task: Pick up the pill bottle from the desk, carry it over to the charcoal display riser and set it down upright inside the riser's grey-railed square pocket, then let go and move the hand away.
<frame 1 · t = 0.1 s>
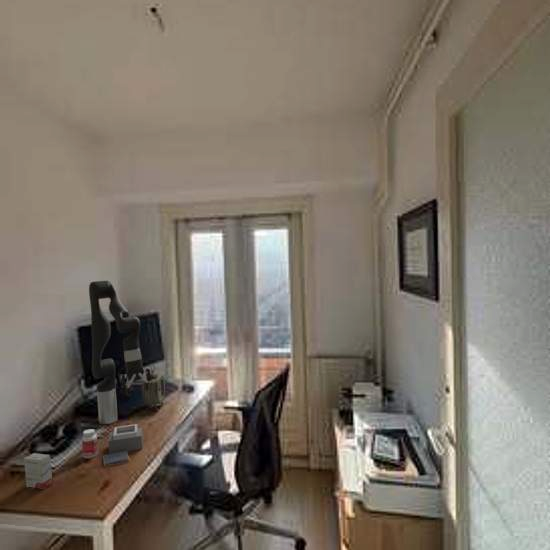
hand: (137, 393, 205), 22 cm above the table, tool pointing down, fingers open, 8 cm apart
ink box: (39, 486, 169), on the table
pill bottle: (90, 456, 193), on the table
display riser: (126, 446, 200), on the table
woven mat: (116, 461, 187), on the table
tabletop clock: (154, 408, 248), on the table
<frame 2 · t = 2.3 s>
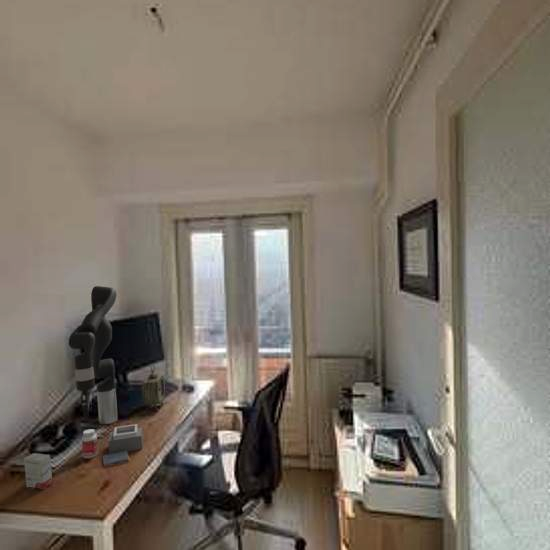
hand: (87, 414, 191), 19 cm above the table, tool pointing down, fingers open, 8 cm apart
nothing on the table moved.
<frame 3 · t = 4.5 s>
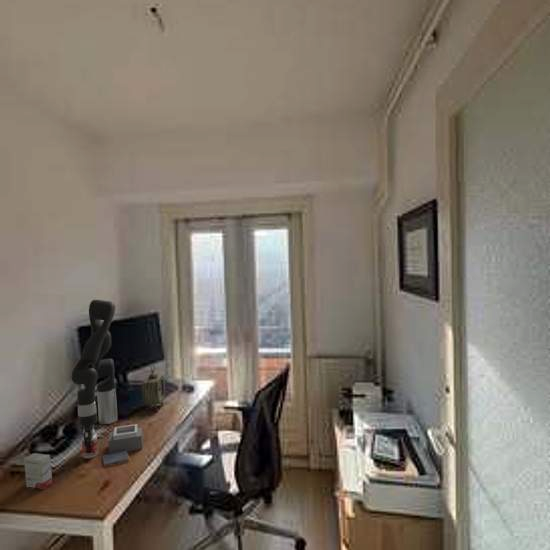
hand: (90, 449, 192), 3 cm above the table, tool pointing down, fingers closed on pill bottle, 6 cm apart
pill bottle: (90, 455, 193), on the table, touching gripper
everything else where it was.
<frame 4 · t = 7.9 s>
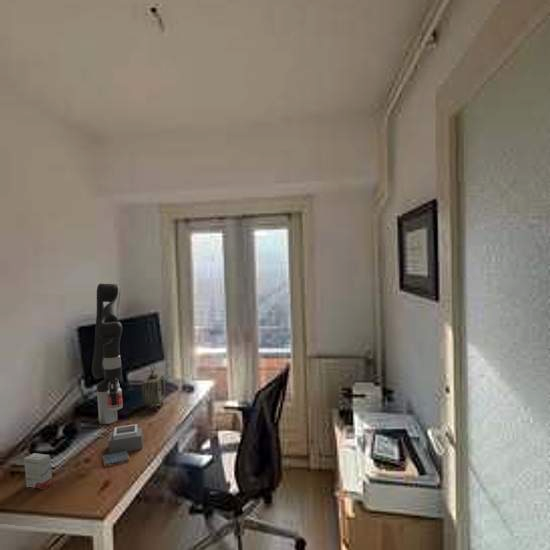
hand: (115, 402, 197), 21 cm above the table, tool pointing down, fingers closed on pill bottle, 6 cm apart
pill bottle: (115, 408, 197), point 19 cm above the table, touching gripper
everything else where it was.
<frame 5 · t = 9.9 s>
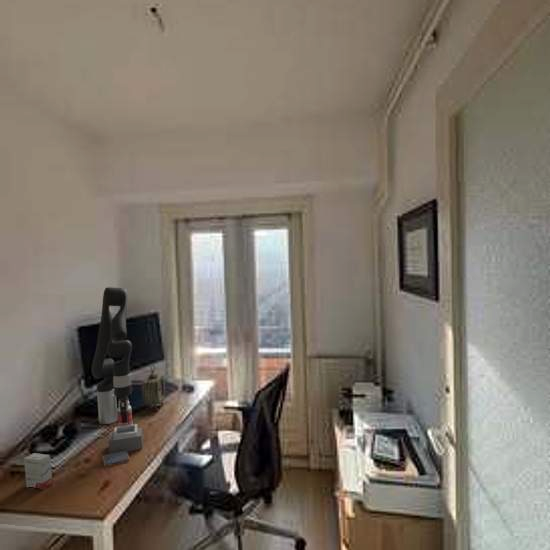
hand: (125, 420, 199), 12 cm above the table, tool pointing down, fingers closed on pill bottle, 6 cm apart
pill bottle: (125, 426, 199), point 10 cm above the table, touching gripper
everything else where it was.
when the fingers open (10 cm above the table, at t = 11.4 s): pill bottle drops 1 cm, resting on display riser.
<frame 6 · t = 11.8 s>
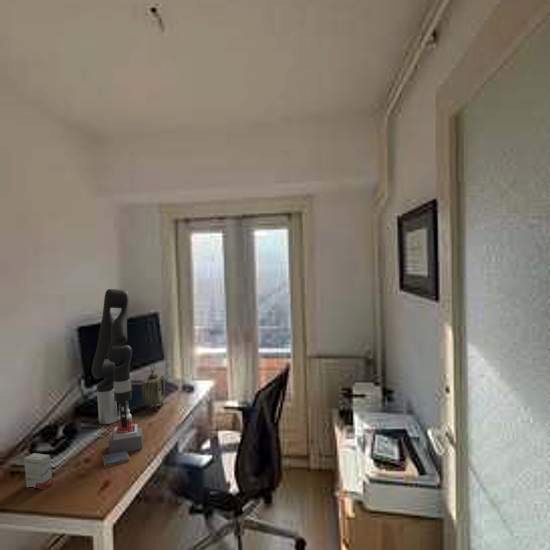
hand: (125, 424, 199), 11 cm above the table, tool pointing down, fingers open, 8 cm apart
pill bottle: (125, 434, 199), point 6 cm above the table, touching display riser
everything else where it was.
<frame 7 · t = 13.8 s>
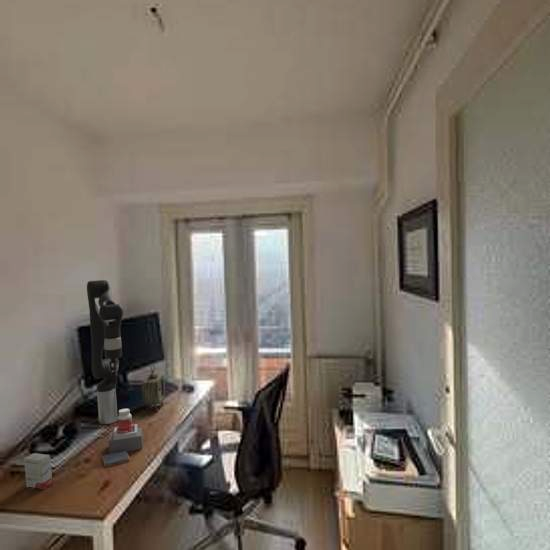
hand: (114, 381, 204), 29 cm above the table, tool pointing down, fingers open, 8 cm apart
nothing on the table moved.
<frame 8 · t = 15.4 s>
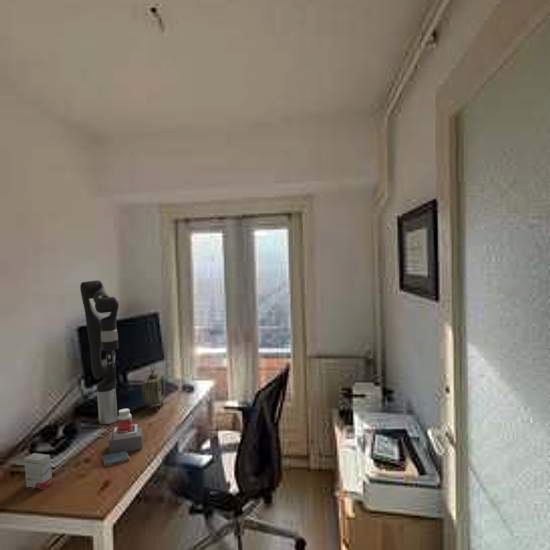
hand: (112, 373, 207), 32 cm above the table, tool pointing down, fingers open, 8 cm apart
nothing on the table moved.
at the end: pill bottle 0.2 cm off-centre on the display riser, point 5.8 cm above the display riser's base; pill bottle tilted 0°; the gripper is holding nothing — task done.
